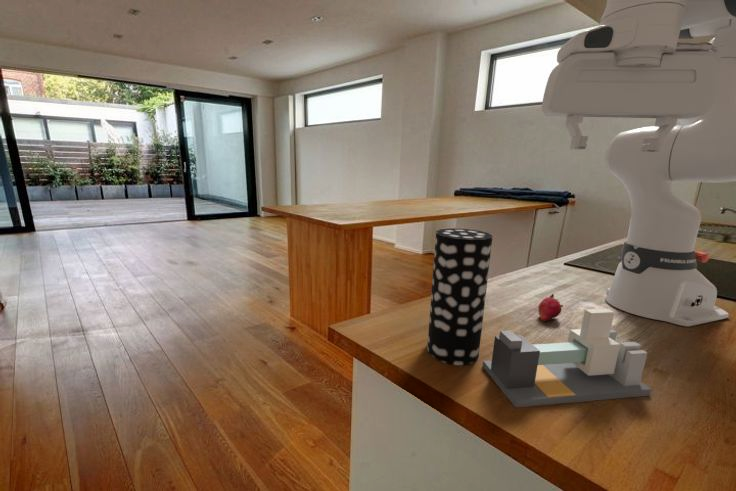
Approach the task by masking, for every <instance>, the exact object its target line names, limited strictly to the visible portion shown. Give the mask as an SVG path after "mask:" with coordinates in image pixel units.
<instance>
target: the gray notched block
mask: <svg viewBox="0 0 736 491" xmlns="http://www.w3.org/2000/svg"><path fill="white" fill-rule="evenodd" d="M617 336H618V331H617V330H615V329H613V328H611V331H610V335H609V338H611V339H613V340H614V341H616V340H617ZM616 342H617V341H616ZM618 343H619V344H620V349H619V353H618V357H617V362H616V366H615V371H614V374H608V375H610V376H611V377H613V378H614V379H615V380H617V381H618V382H619V383H621V384H622V385H624V386H633V385H640V382H642V381H641V380H642V377H643V373H644V369H645V366H646V365H645V364H646V361H647V357H648V352H647V351H646V350H643V349H641V346H642V345H641V344H639V342H638V343H637V342H636V341H624V342H618Z"/></svg>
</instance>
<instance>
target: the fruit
mask: <svg viewBox="0 0 736 491" xmlns="http://www.w3.org/2000/svg"><path fill="white" fill-rule="evenodd" d="M563 307H564V305H562V304H561V303H560V302H559V299H556V298H555V294H554V293H551V295H550V296H549V297H545V298H544V299H542V300H541V302H540V303H539V304H538V315H539V319H540V321H541V322H547V321H549V320H552V319H554V318H555V319H556V318H557V317H558V316H559V315H560V314H561V312H562V308H563Z"/></svg>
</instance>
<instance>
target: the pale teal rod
mask: <svg viewBox="0 0 736 491" xmlns="http://www.w3.org/2000/svg"><path fill="white" fill-rule="evenodd" d="M533 345H534V346H535V347H536V348H537V349H538V350H540V354H539V360H538V365H548V364H562V363H576V362H586V357H587V352H588V348H587V347H586V346H584V345H583V344H581V343H580V342H568V341H567V342H554V343H552V342H551V343H535V344H533Z"/></svg>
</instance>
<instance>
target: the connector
mask: <svg viewBox="0 0 736 491" xmlns="http://www.w3.org/2000/svg"><path fill="white" fill-rule="evenodd" d="M539 354H540V350H538V349H537V348H536V347H535V346H534V344H533V343H531V342H530V341H529V340H528V339H527V338H525V337H524V336H523V335H522V334H516V333H515V332H513V330H509V329H508V330H500V331H499V335H495V336H494V340H493V349H492V355H491V360H492V363H491V371H492V372H493V373H494V374H495V376H496V377H497V378H498V379H499V380H500V382H501V383H502V384H503V385H504V386H505V388H506V389H515V388H528V387H534V384H535V378H536V372H537V366H538V360H539Z"/></svg>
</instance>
